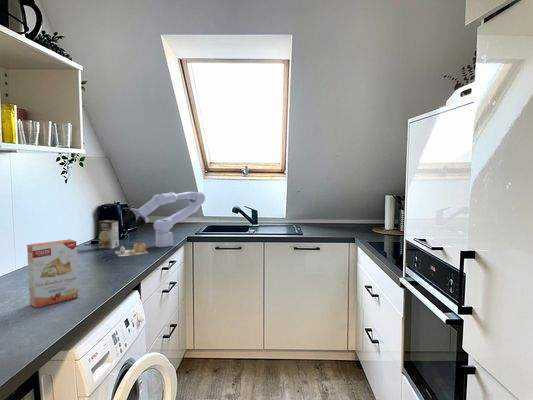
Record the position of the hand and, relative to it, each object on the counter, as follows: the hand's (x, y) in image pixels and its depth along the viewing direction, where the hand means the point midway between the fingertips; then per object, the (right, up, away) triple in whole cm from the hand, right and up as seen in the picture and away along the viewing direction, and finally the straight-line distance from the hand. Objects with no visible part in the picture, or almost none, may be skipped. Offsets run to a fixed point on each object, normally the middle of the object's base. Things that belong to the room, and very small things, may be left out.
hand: (127, 224), depth 203 cm
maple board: (+3, -16, -2) cm, 16 cm away
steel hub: (-1, -15, -4) cm, 16 cm away
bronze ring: (+7, -15, +1) cm, 16 cm away
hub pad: (-1, -15, -4) cm, 16 cm away
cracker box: (+2, -22, -72) cm, 76 cm away
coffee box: (-15, -15, +12) cm, 24 cm away
